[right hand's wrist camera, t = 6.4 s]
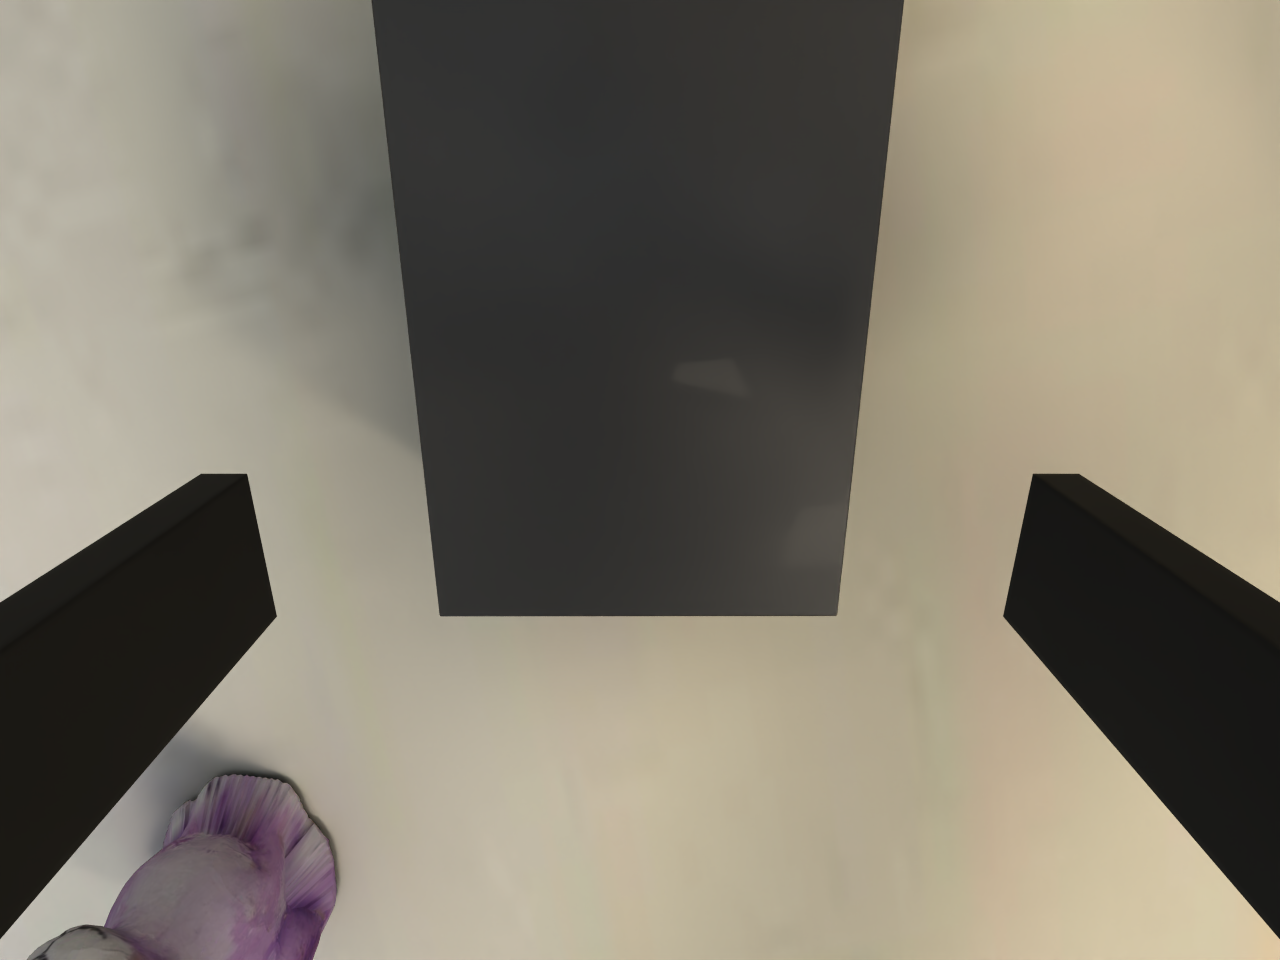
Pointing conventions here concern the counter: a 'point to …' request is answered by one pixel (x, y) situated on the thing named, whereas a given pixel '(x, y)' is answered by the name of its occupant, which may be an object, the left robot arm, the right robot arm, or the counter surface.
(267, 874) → the figurine
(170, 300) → the counter surface
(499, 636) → the counter surface
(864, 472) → the counter surface
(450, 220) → the cabinet
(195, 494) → the right robot arm
